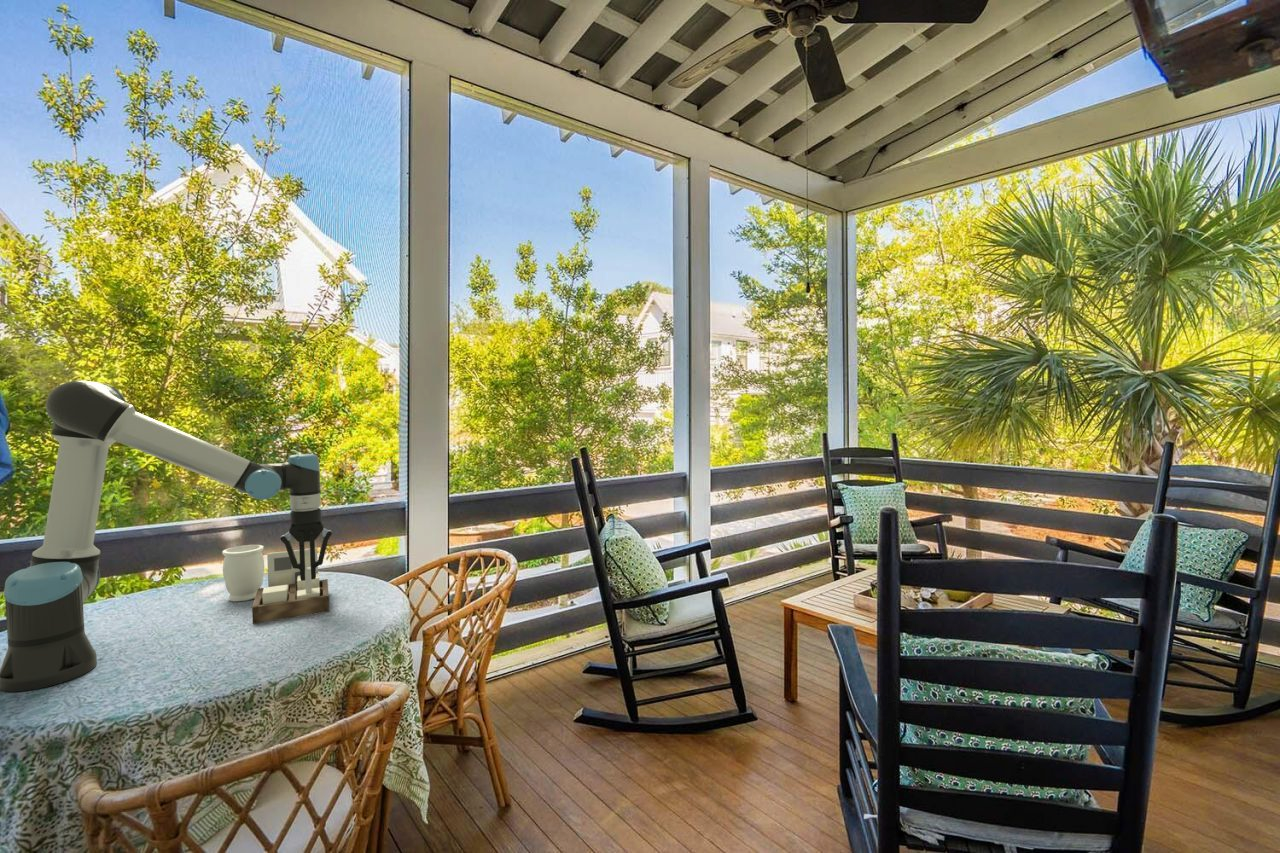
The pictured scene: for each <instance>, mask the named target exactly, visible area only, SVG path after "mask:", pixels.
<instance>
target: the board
mask: <svg viewBox="0 0 1280 853" xmlns="http://www.w3.org/2000/svg"><path fill="white" fill-rule="evenodd" d="M328 581H329V580H328V579H327V578H326V579H325V578H324V579H319V585H320V596H317V597H310V598H303V599H297V591H298V589H297V583H296V584H289V592H288V600H287V601H283V602H276V603H270V604H263V599H262V593H263V589H264V588H265V587H260V589H258V590H257V593H256V597H255V598H254V600H253V604H252V607H251V610H252V612H251V614H252V624H253V625H254V624H255V625H256V624H261V623H268V622H273V621H279V620H285V619H292V618H298V617H303V616H304V615H305V616H310V614H311V615H315V614H316V613H317V614H322V613H328V612H330V596H329V595H330V594H329V583H328ZM297 616H298V617H297ZM305 616H304V617H305Z"/></svg>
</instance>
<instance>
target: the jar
mask: <svg viewBox="0 0 1280 853" xmlns="http://www.w3.org/2000/svg"><path fill="white" fill-rule="evenodd" d="M264 549H265V548H264V545H261V544H246V545H237V546H232V547H228V548H225V549H224V550H222V555H223V557H224V558H223V562H222V575H223V579H224V584H225V588H226V591H227V592H228V593H229V596H228V597H227V600H228V601H229V602H245V601H251V600H253V599H254V600H255V597H256V593H257V590H258V589H260V588H262V584H263V581H264V575H265V574H264V573H265V559H264V555H263V550H264Z"/></svg>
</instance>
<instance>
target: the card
mask: <svg viewBox="0 0 1280 853" xmlns="http://www.w3.org/2000/svg"><path fill="white" fill-rule="evenodd" d="M293 551H294V554H295V557H296V560H297V563H300V552H299V549H295V550H294V549H293ZM266 557H267V558H266V559H267V583H268V586H267V587H273V586H280V585H287V584H296V583H297V578H298V576H300V570H299V569H294V568H293V567H292V564H291V561H290V558H289V555H288V552H287V550H286V551H278V552H276V551H274V552H268V553H267V554H266ZM318 558H319V556H318V547H315V561H318ZM306 567H311V563H310V548H305V568H306ZM316 573H319V566H317V567H316Z"/></svg>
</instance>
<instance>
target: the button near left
mask: <svg viewBox="0 0 1280 853" xmlns="http://www.w3.org/2000/svg"><path fill="white" fill-rule="evenodd" d="M263 588H264V589H263V593H262V599H263V604H270V603H276V602H283V601H287V600H288V592H287V585H280V586H273V587H268V586H267V587H263Z"/></svg>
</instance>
